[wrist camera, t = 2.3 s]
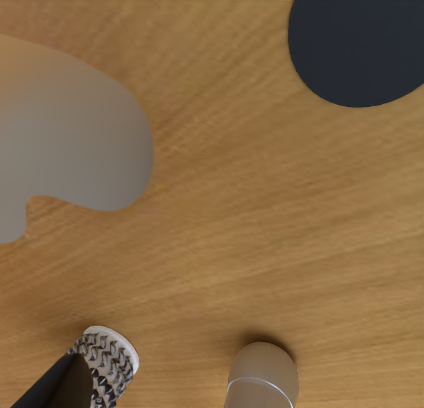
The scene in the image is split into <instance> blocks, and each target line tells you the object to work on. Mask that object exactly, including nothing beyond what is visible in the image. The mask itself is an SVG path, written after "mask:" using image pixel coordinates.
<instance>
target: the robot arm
mask: <svg viewBox="0 0 424 408" xmlns="http://www.w3.org/2000/svg"><path fill="white" fill-rule="evenodd" d="M93 385H94V381H93V376H92V373H91V371H90V369H89V367H88V365H87V362H86V360H85V358H84V356H83V355H82V354H81V353H78V352H77V353H72V354H68V355H64V356H62V357H61V358H60V359H59V360H58V361H57V362H56V363H55V364H54V365H53V366H52V367H51V368H50V369H49V370H48V371H47V372H46V373H45V374H44V375H43V376H42V377H41V378H40V379H39V380H38V381H37V382H36V383H35V384H34V385H33V386H32V387H31V388H30V389H29V390H28V391H27V392H26V393H25V394H24V395H23V396H22V397H21V398H20V399H19V400H18V401H17V402H16V403H15V404H14V405H12V406H11V407H10V408H90V407H91V400H92V393H93Z"/></svg>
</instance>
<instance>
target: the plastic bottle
mask: <svg viewBox="0 0 424 408" xmlns="http://www.w3.org/2000/svg"><path fill="white" fill-rule="evenodd" d="M298 394H299V379H298V371H297V368H296V366H295V364H294V362H293V361H292V359H291V357H290V356H289V355H288V354H287V353H286V352H285V351H284V350H283V349H281V348H280V347H278V346H276V345H274V344H271V343H267V342H253V343H250V344H248V345H246V346H245V347H243V348H242V349H240V351H239V352H238V353H237V355H236V357H235V359H234V360H233V362H232V364H231V367H230V372H229V378H228V386H227V396H226V400H225V405H224V408H295V406H296V402H297V398H298Z"/></svg>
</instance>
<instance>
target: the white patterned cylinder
mask: <svg viewBox="0 0 424 408" xmlns="http://www.w3.org/2000/svg"><path fill="white" fill-rule="evenodd" d="M77 352H78V353H81V354H82V355H83V356H84V358H85V360H86V362H87V365H88V367H89V369H90V371H91V373H92V376H93V381H94V385H93V393H92V400H91V407H90V408H114V407H115V406H116V402H115V401H116V399H118V398H119V397H121V395H122V394H123V393H124V392H125V390H126V386H127V385H128V384H129V383H130V382H131V381H132V379H133V374H135V373H136V371H137V369H138V367H139V365H140V364H139V357H138V354H137V352H136V351H135V349H134V347H133V345H132V344H131V343H130V342H129V341H128V340H127V339H126V338H125V337H124V336H122V335H121V334H119V333H117V332H116V331H114V330H113V329H110V328H107V327H104V326H101V325H100V326H90V327H89V328H87V329H86V330H85V331H84V332H83V335H82V337H78V338H77V339H76V343H74V345H73V347H69V348H68V349H67V353H65V354H64V355H68V354H72V353H77ZM56 362H57V361H56Z"/></svg>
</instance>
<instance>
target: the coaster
mask: <svg viewBox="0 0 424 408" xmlns="http://www.w3.org/2000/svg"><path fill="white" fill-rule="evenodd" d="M288 41H289V49H290V54H291V58H292V61H293V64H294V66H295V69H296V71H297V72H298V74H299V76H300V78H301V79H302V80H303V82H304V83H305V84H306V85H307V86H308V87H309V88H310V89H311V90H312V91H313V92H314V93H316V94H317V95H318V96H320V97H321V98H323V99H325V100H327V101H329V102H332V103H335V104H338V105H342V106H347V107H371V106H376V105H381V104H384V103H388V102H391V101H393V100H396V99H398V98H401V97H403V96H404V95H406V94H408V93H410V92H412V91H413V90H415V89H416V88H418V87H419V86H420V85H422V84H423V83H424V0H294V3H293V6H292V10H291V15H290V20H289V29H288Z"/></svg>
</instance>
